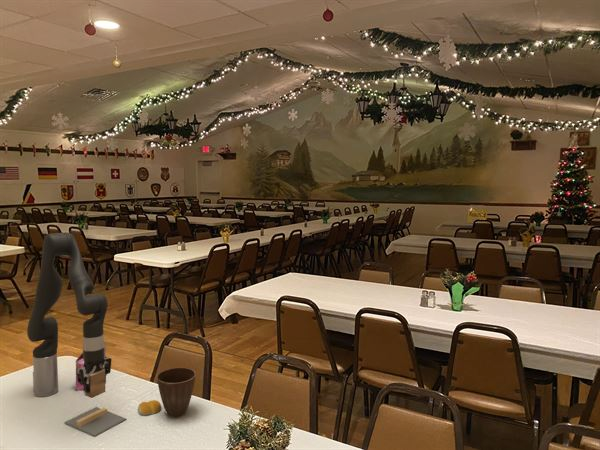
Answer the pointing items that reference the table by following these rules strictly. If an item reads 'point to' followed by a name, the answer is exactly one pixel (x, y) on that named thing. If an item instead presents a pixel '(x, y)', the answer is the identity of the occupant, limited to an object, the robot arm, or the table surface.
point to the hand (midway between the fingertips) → (95, 389)
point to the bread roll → (149, 407)
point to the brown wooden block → (96, 383)
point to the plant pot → (176, 390)
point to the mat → (95, 421)
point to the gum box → (80, 364)
